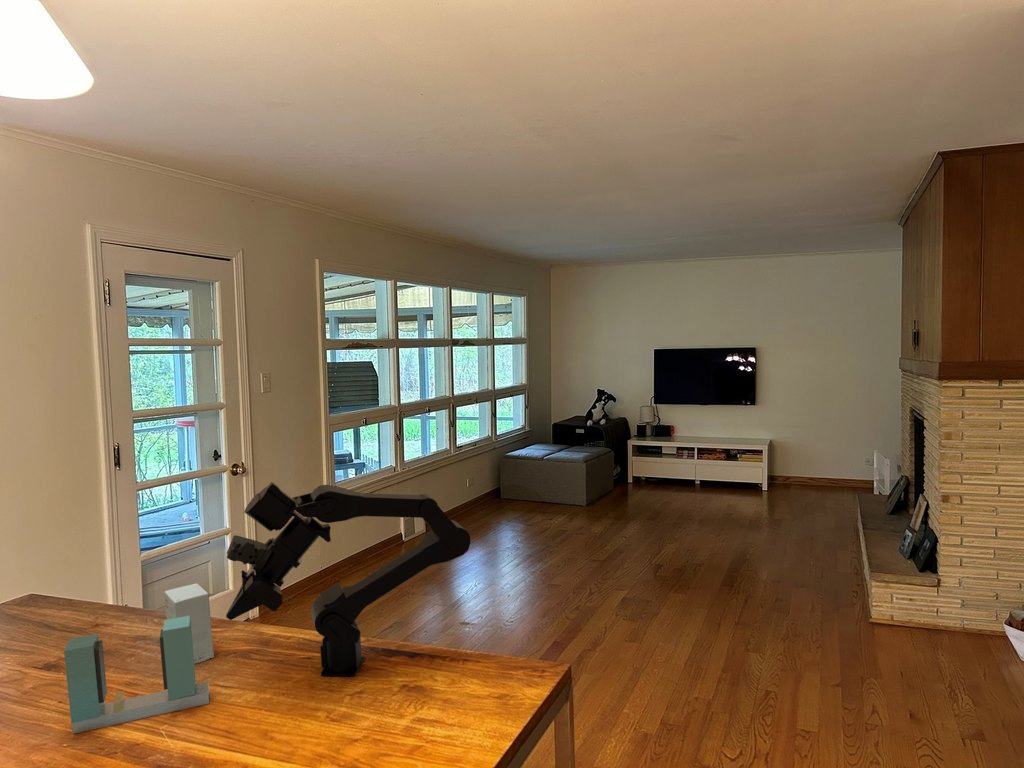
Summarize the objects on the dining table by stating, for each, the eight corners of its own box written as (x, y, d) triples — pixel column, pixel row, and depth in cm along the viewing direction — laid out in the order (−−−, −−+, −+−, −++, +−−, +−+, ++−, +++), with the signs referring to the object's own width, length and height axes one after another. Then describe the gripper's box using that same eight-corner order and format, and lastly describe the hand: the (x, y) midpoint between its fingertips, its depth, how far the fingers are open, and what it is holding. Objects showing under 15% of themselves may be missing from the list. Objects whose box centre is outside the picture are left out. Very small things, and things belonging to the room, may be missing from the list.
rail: (209, 691, 124) (203, 614, 122) (208, 704, 119) (202, 625, 118) (78, 719, 116) (70, 638, 115) (72, 735, 112) (64, 650, 110)
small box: (214, 658, 136) (209, 593, 135) (179, 669, 132) (174, 602, 131) (202, 644, 142) (197, 582, 141) (168, 654, 138) (163, 590, 137)
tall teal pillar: (195, 681, 123) (190, 615, 122) (194, 694, 118) (189, 626, 117) (166, 687, 121) (160, 620, 120) (164, 701, 116) (158, 631, 115)
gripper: (251, 507, 131) (191, 574, 128) (256, 533, 114) (186, 612, 110) (298, 541, 134) (241, 608, 131) (309, 572, 117) (244, 649, 114)
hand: (228, 617), depth 122 cm, fingers closed
